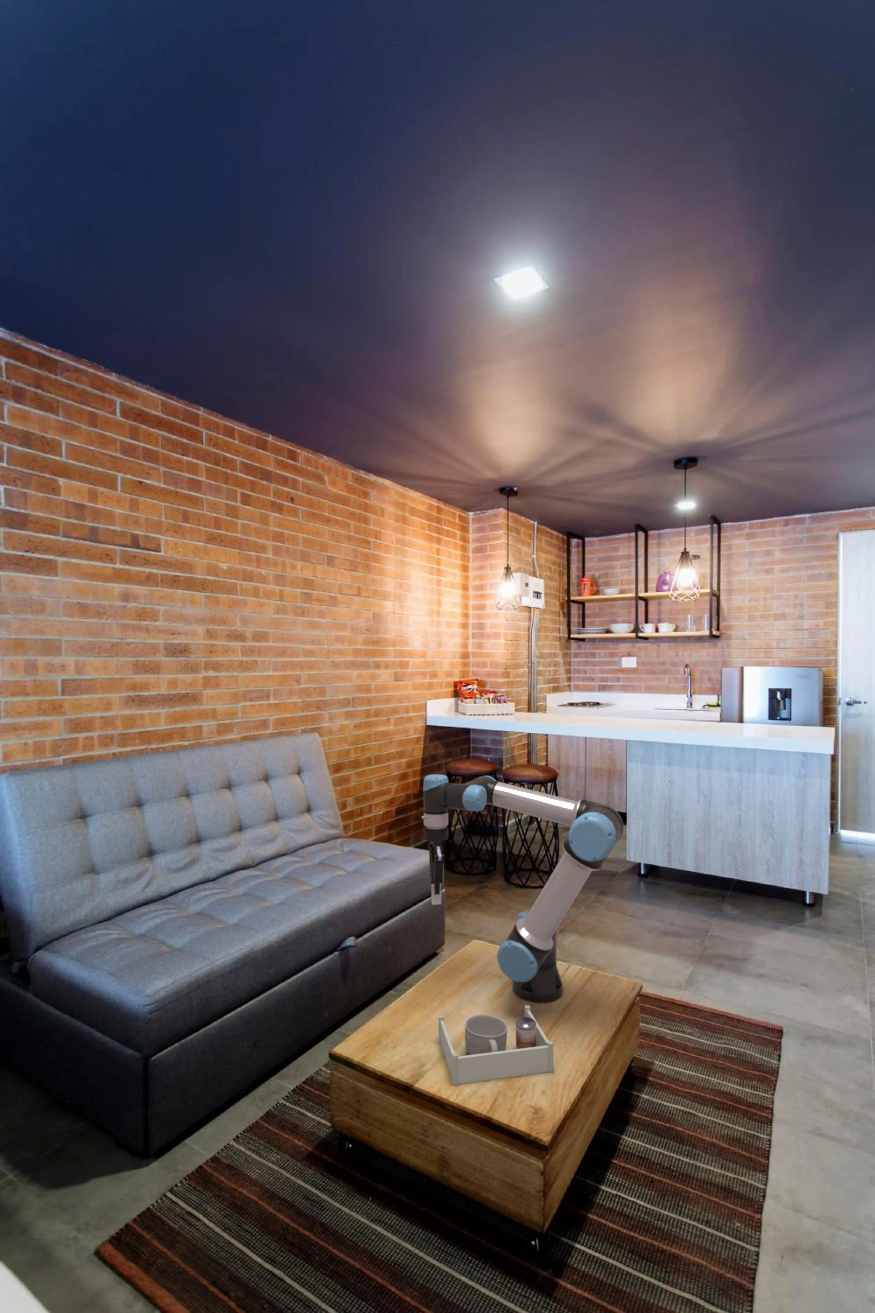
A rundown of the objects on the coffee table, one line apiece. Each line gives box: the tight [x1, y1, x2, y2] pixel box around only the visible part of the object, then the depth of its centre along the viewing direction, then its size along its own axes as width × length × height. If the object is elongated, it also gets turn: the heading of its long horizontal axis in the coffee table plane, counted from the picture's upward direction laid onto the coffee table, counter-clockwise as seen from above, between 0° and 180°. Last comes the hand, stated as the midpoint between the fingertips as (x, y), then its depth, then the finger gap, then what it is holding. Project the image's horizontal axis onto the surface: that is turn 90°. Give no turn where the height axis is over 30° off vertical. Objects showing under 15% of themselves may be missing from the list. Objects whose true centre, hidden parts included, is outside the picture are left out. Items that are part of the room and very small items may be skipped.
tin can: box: [515, 1016, 536, 1049], centre depth 163 cm, size 5×5×8 cm
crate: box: [438, 1004, 554, 1086], centre depth 162 cm, size 25×18×7 cm
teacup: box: [464, 1013, 508, 1055], centre depth 161 cm, size 14×11×8 cm
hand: (436, 903), depth 196 cm, fingers closed
